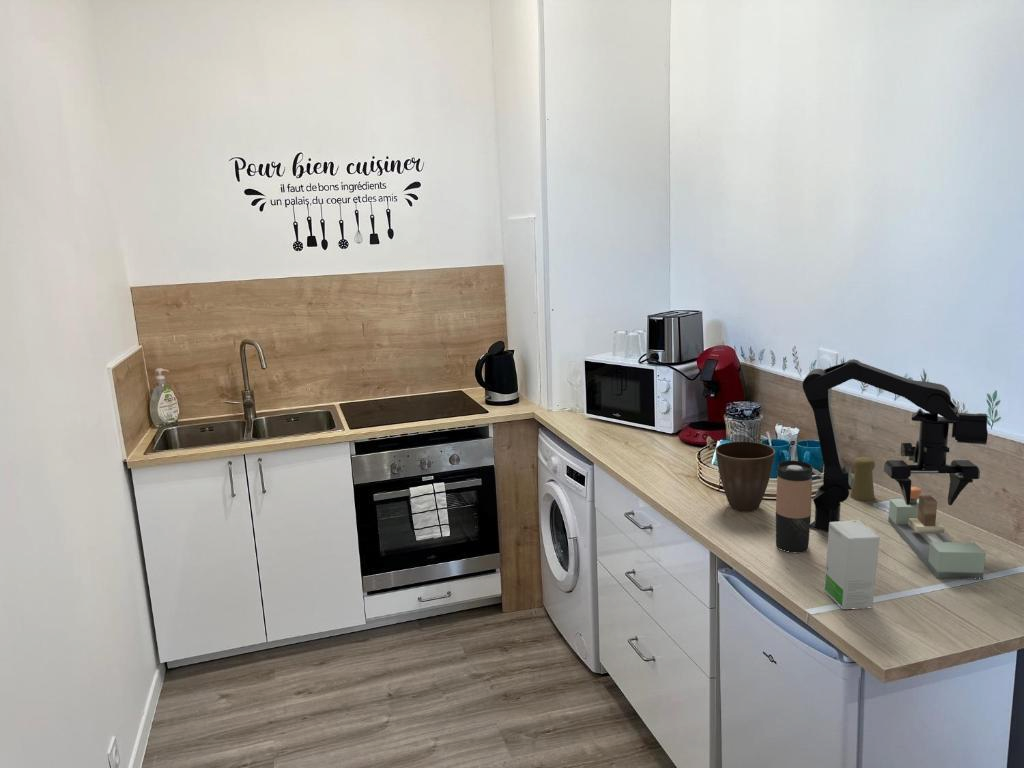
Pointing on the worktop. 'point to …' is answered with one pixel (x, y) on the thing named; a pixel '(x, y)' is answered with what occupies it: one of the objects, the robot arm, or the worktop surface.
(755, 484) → the plant pot
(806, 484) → the travel mug
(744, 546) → the worktop surface
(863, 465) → the cork
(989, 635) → the worktop surface
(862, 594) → the skincare box
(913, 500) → the orange knob
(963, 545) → the rail bench
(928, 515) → the carriage
